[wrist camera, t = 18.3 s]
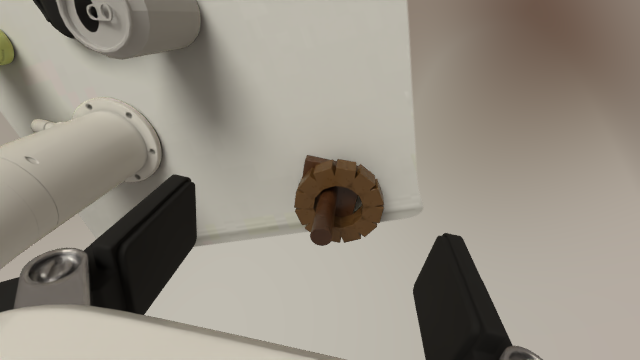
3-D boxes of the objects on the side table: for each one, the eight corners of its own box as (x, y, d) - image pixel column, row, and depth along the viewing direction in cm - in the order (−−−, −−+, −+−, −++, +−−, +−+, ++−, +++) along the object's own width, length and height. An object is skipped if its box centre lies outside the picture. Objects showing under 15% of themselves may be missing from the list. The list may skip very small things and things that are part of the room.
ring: (294, 222, 45) (291, 233, 43) (303, 152, 39) (299, 161, 37) (371, 237, 45) (371, 249, 42) (391, 168, 39) (393, 177, 37)
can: (131, -25, 33) (27, -43, 23) (196, -29, 32) (117, -49, 22) (152, 49, 37) (69, 62, 26) (210, 47, 36) (148, 61, 25)
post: (298, 202, 45) (281, 256, 35) (307, 154, 41) (290, 199, 31) (351, 214, 45) (348, 270, 35) (364, 167, 41) (365, 216, 31)
